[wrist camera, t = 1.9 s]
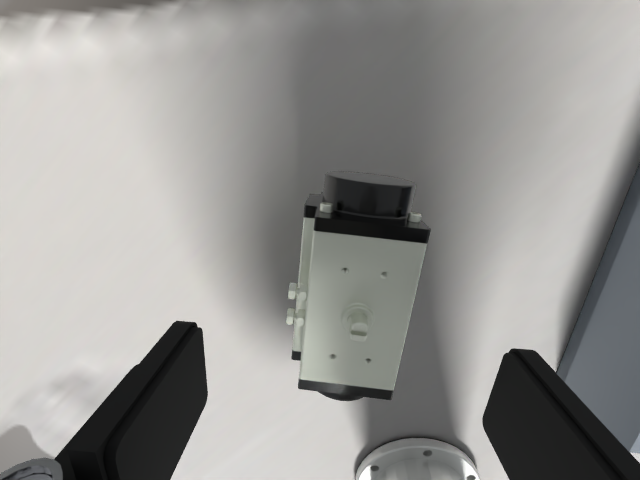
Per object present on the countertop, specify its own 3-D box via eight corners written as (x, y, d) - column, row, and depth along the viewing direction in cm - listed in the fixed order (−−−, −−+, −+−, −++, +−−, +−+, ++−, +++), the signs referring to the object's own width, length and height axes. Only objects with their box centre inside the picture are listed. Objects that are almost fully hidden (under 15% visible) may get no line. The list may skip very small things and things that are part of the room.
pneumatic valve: (390, 168, 22) (450, 199, 10) (366, 308, 25) (390, 443, 14) (315, 160, 22) (292, 181, 10) (302, 300, 26) (274, 428, 14)
